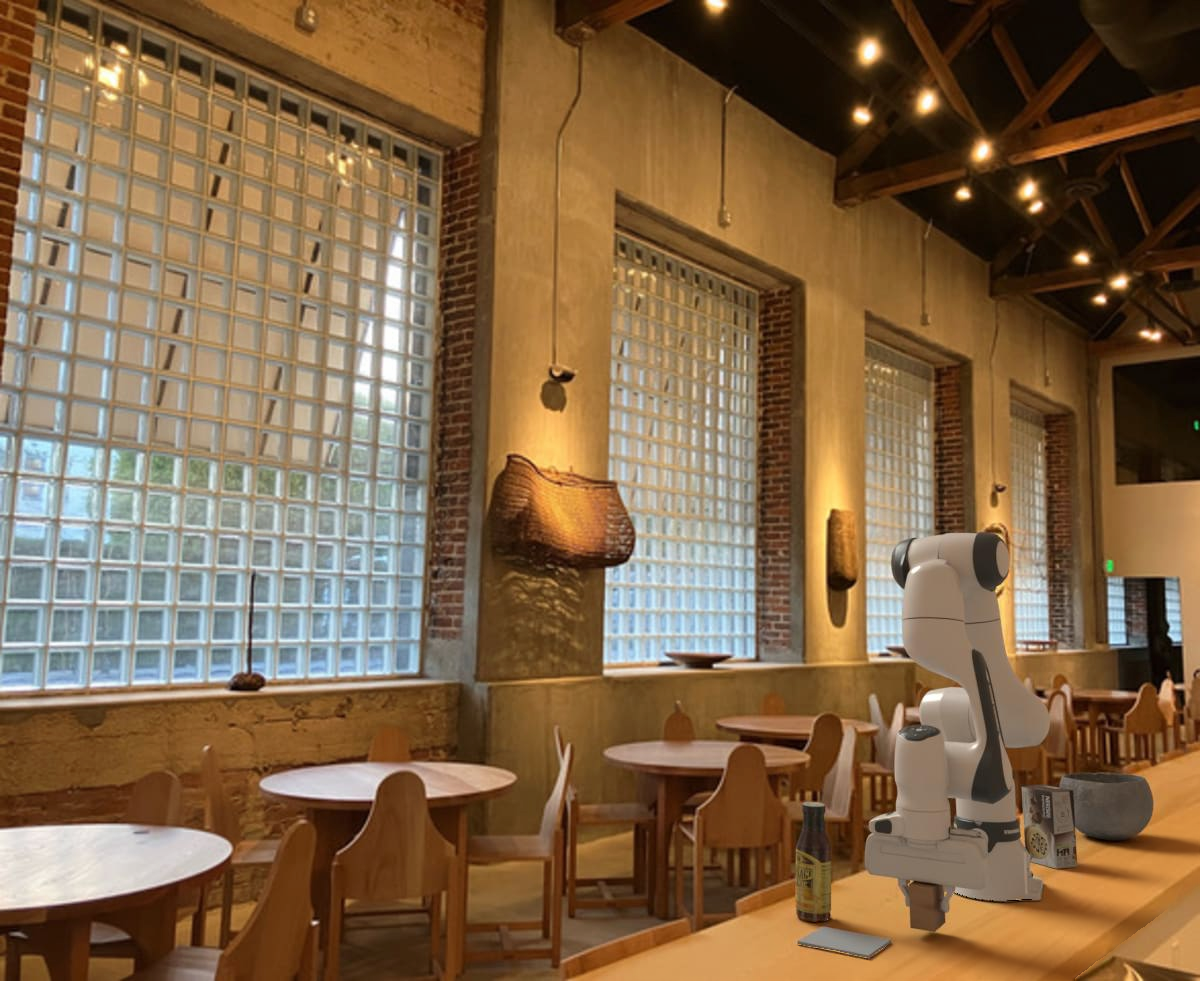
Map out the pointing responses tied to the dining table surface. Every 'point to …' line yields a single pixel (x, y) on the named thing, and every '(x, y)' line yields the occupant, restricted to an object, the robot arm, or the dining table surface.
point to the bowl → (1110, 804)
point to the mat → (845, 941)
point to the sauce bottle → (813, 866)
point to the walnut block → (925, 906)
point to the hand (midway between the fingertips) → (927, 908)
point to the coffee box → (1049, 825)
